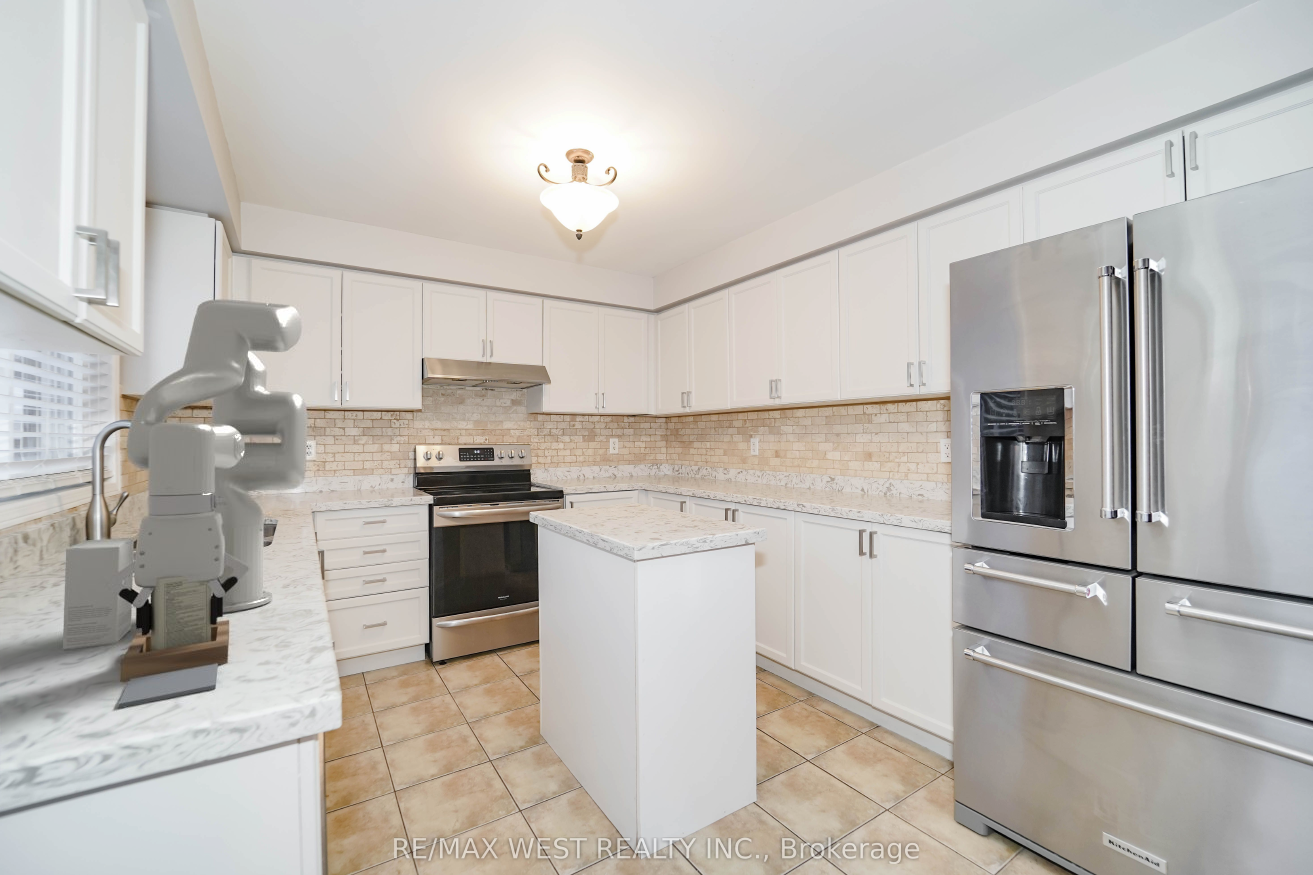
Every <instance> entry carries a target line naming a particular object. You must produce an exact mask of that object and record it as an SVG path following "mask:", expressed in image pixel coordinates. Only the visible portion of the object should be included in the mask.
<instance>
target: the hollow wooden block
mask: <svg viewBox="0 0 1313 875" xmlns="http://www.w3.org/2000/svg"><path fill="white" fill-rule="evenodd" d="M229 644H230V619H226V620H225V619H224V620H220V621H218V620H217V625H212V624H211V642H206V643H200V644H194V645H188V646H181V647H175V648H169V649H163V650H157V651H151V630H150V632H149V634H147V635H143V636H142V632H138V633H136V634H135V636H134V638H133V639H132V641H131V643H130V645H129V647H128V648H127V650H126V652H125V654H124V656H123V657H122V660H121V661H120V667H119V669H120V672H119V673H120V674H119V682H120V683H123V682H129V681H130V679H133V678H138V677H144V676H150V675H155V674H161V673H166V672H172V671H177V670H183V669H188V668H194V667H199V666H205V665H211V664H216V663H218V665H222V664H228V661H229Z"/></svg>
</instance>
